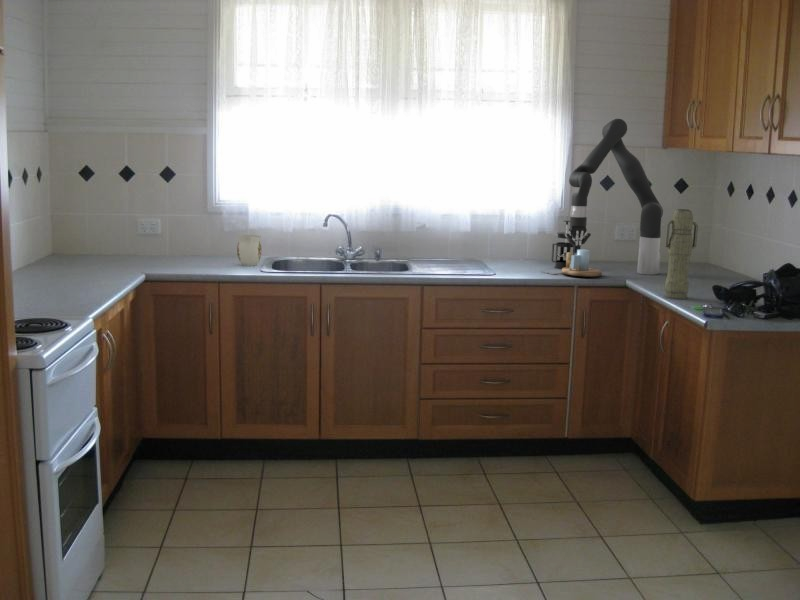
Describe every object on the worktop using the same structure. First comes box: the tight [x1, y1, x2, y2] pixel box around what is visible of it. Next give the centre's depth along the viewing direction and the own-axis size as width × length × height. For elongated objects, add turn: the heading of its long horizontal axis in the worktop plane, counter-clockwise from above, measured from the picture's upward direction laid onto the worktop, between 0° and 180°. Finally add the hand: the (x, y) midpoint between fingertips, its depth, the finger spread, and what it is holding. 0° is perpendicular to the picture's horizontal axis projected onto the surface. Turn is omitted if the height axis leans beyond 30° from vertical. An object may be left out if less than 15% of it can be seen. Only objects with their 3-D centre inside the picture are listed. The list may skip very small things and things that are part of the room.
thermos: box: [664, 208, 699, 300], centre depth 345 cm, size 9×12×35 cm
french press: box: [551, 219, 575, 270], centre depth 418 cm, size 12×9×23 cm
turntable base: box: [571, 275, 592, 278], centre depth 398 cm, size 9×9×1 cm
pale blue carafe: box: [570, 248, 591, 271], centre depth 395 cm, size 10×6×9 cm, turn 127°
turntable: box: [561, 251, 603, 277], centre depth 397 cm, size 18×18×8 cm
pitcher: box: [236, 234, 262, 267], centre depth 398 cm, size 11×18×14 cm, turn 7°
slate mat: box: [540, 269, 565, 276], centre depth 404 cm, size 10×10×1 cm
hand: (576, 253), depth 404 cm, fingers closed
